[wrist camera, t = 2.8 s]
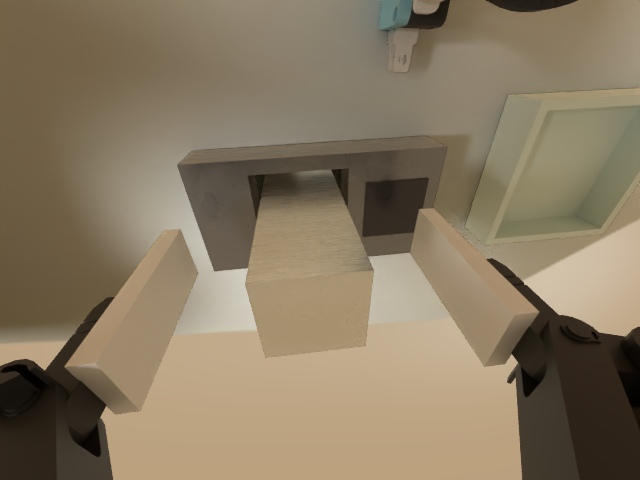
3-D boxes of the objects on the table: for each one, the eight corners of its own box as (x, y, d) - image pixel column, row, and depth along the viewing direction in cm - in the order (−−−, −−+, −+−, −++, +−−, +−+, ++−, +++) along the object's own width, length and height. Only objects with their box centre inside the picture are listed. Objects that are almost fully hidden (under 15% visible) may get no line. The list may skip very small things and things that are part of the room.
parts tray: (464, 226, 20) (484, 245, 18) (508, 94, 15) (543, 100, 13) (571, 217, 21) (603, 234, 19) (648, 87, 16) (702, 91, 14)
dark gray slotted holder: (222, 248, 19) (214, 272, 17) (191, 150, 15) (176, 165, 13) (408, 231, 20) (423, 252, 18) (426, 135, 16) (448, 147, 14)
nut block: (274, 226, 18) (265, 357, 10) (266, 171, 16) (245, 283, 8) (330, 221, 19) (365, 345, 10) (329, 166, 16) (373, 270, 8)
